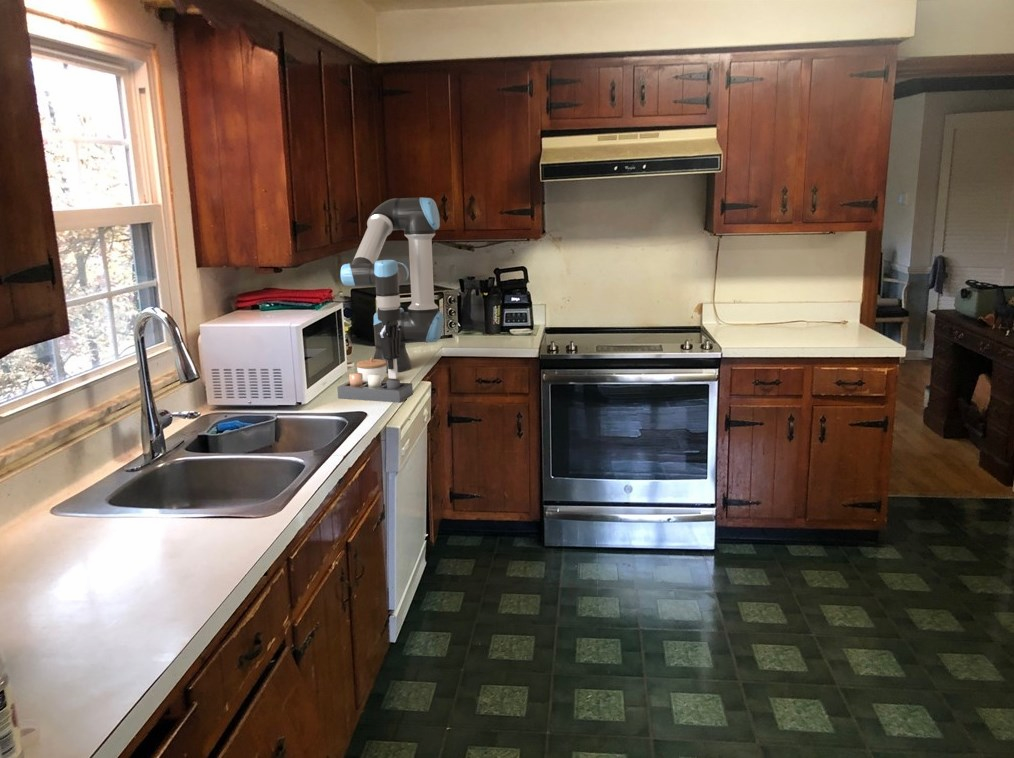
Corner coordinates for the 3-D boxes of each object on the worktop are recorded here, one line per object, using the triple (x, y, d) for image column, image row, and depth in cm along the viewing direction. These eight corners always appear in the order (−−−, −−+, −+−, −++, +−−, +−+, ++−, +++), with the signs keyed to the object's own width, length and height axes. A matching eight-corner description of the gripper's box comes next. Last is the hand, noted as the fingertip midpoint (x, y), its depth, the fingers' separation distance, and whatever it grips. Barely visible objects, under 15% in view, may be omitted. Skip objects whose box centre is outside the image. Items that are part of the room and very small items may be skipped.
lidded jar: (361, 388, 280) (359, 362, 278) (355, 381, 290) (353, 356, 287) (391, 384, 284) (389, 359, 282) (384, 378, 294) (382, 353, 291)
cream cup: (372, 387, 270) (371, 373, 269) (384, 388, 269) (383, 374, 268) (366, 390, 266) (365, 376, 265) (377, 391, 265) (376, 377, 264)
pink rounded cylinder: (354, 386, 272) (353, 372, 271) (365, 387, 271) (364, 373, 270) (347, 389, 268) (346, 375, 267) (359, 390, 267) (358, 376, 266)
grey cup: (391, 393, 268) (390, 379, 267) (402, 394, 267) (402, 379, 266) (385, 396, 264) (384, 382, 263) (397, 397, 263) (396, 382, 262)
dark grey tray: (352, 391, 276) (352, 379, 275) (412, 394, 269) (412, 383, 268) (338, 398, 267) (337, 386, 266) (399, 402, 260) (399, 390, 259)
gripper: (387, 304, 266) (391, 372, 272) (368, 310, 254) (373, 382, 260) (407, 305, 263) (411, 373, 269) (390, 311, 251) (394, 383, 257)
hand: (393, 377), depth 264 cm, fingers closed
